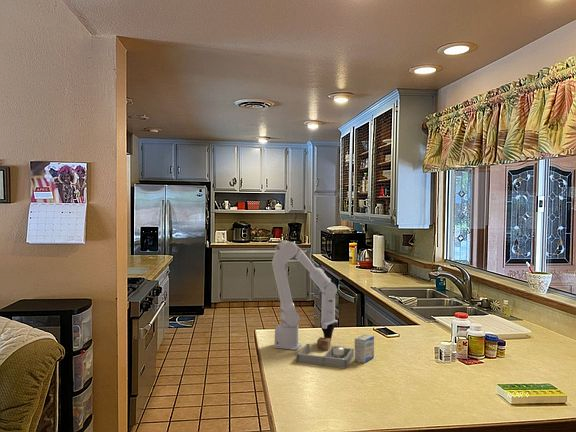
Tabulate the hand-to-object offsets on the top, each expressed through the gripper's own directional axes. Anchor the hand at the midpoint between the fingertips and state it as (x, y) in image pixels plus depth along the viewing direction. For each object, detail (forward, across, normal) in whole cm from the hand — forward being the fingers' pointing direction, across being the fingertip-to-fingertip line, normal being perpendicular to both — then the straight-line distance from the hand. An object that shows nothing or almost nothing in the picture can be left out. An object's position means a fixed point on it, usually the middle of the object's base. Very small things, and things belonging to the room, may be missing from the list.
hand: (327, 341), depth 194 cm
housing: (+1, -20, -4) cm, 20 cm away
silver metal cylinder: (+1, -20, -9) cm, 22 cm away
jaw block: (+1, -7, 0) cm, 7 cm away
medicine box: (+1, -15, -18) cm, 23 cm away
